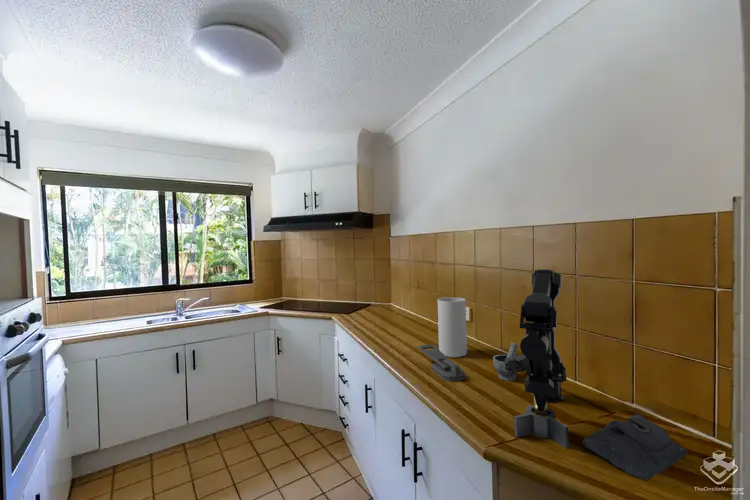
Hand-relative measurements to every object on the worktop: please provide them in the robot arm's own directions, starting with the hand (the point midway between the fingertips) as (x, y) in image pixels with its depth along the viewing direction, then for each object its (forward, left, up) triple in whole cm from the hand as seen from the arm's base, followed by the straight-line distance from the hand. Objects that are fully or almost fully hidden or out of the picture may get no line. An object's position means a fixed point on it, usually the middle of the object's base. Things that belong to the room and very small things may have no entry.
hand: (540, 407), depth 84 cm
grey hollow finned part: (+2, +2, -6) cm, 7 cm away
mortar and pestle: (-16, -32, -6) cm, 36 cm away
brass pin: (0, 0, -3) cm, 3 cm away
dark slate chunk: (-14, +13, -7) cm, 20 cm away
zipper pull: (+4, -48, -6) cm, 48 cm away
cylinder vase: (-11, -63, -6) cm, 64 cm away
